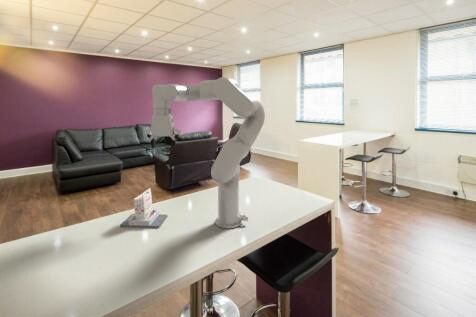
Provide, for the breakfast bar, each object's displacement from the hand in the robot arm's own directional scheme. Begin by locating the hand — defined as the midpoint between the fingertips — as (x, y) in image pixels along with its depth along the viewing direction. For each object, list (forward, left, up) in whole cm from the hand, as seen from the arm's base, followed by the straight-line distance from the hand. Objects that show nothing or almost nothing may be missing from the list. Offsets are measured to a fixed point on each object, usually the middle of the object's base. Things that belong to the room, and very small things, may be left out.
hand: (163, 148), depth 132 cm
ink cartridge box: (+8, +9, -34) cm, 36 cm away
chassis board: (+8, +9, -34) cm, 36 cm away
